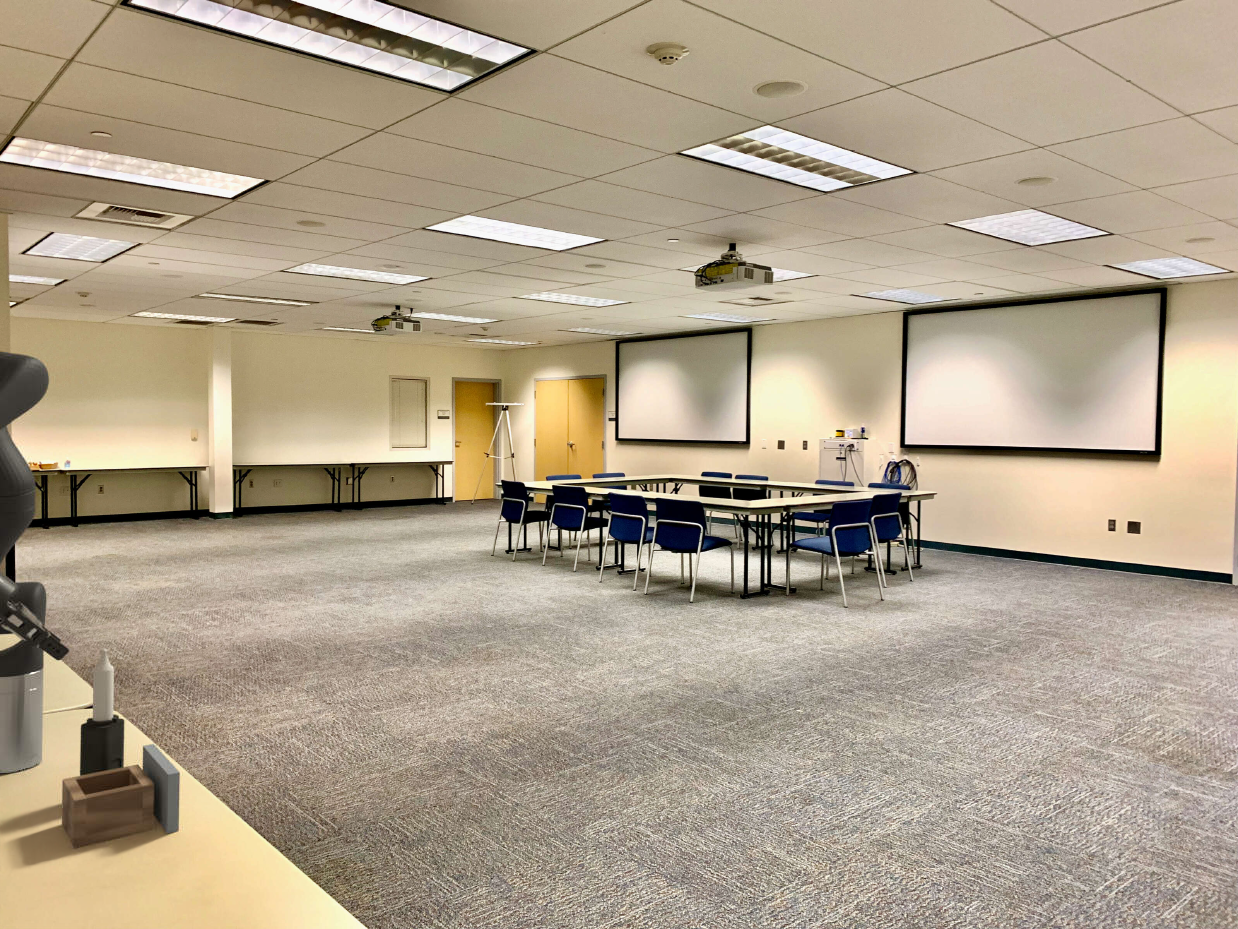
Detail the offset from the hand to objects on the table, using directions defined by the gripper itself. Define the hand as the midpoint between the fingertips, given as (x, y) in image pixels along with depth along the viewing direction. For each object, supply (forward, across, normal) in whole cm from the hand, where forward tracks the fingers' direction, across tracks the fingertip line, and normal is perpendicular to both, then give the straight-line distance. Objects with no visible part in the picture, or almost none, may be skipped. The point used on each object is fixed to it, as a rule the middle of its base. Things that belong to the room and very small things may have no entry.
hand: (60, 650), depth 138 cm
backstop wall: (+27, -12, +10) cm, 31 cm away
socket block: (+22, -12, +15) cm, 29 cm away
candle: (+23, 0, +14) cm, 27 cm away
